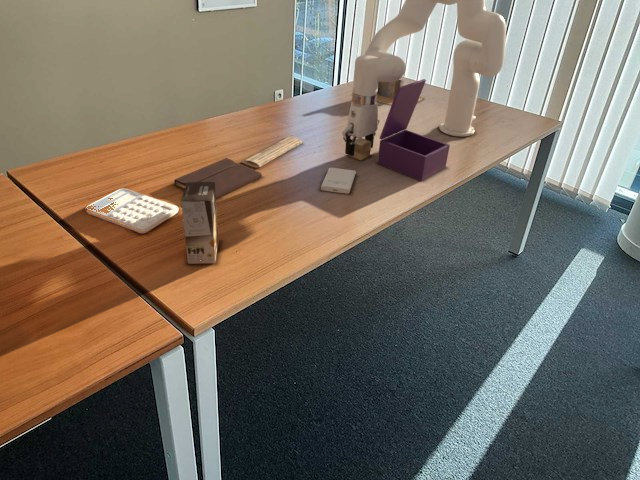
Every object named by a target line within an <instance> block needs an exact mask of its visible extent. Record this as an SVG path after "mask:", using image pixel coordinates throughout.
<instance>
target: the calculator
mask: <svg viewBox="0 0 640 480" xmlns="http://www.w3.org/2000/svg"><path fill="white" fill-rule="evenodd" d="M108 198H113V199H111V200H110V199H108ZM113 202H114V204H116V205H114V204H113V205H114V207H115V208H114V207H112V206H113V205H110V204H111V203H113ZM115 202H116V203H115ZM93 204H94V205H93ZM117 204H118V205H117ZM91 205H92V206H93V207H94V206H96V207H94V209H96V210H97V212H96V210H94V209H93V210H91V209H88V208H87V207H88V206H91ZM108 205H110V206H111V207H112V208H113V209H114V210H111V209H110V210H111V211H110V210H108V209H107V210H108V211H110V212H109V213H107V214H106V213H104V212H101V211H100V212H101V213H100V212H98V209H99V210H100V209H102V208H104V207H106V206H108ZM98 206H99V207H98ZM93 207H91V208H93ZM86 208H87V209H88V210H90V211H93V212H95V213H98V214H101V215H103V216H106V217H108V218H110V219H113V220H116V221H119V222H121V223H123V224H125V225H123V224H120V223H118V222H115V221H112V220H109V219H107V218H104V217H101V216H99V215H96V214H93V213H91V212H88V211H86V210H85V212H86V213H87V214H88V215H90V216H92V217H96V218H98V219H101V220H104V221H106V222H109V223H112V224H114V225H117V226H120V227H122V228H125V229H128V230H131V231H132V232H136V233H138V234H146V233H148V232H150V231H151V230H153V229H154V228H156V227H157V226H159V225H161V224H163V223H164V222H165V221H167V220H169V219H170V218H172V217H173V216H175V215H176V214H178V212H179V207H178V206H177V205H175V204H173V203H169V202H166V201H164V200H161V199H157V198H155V197H152V196H149V195H147V194H143V193H141V192H137V191H134V190H131V189H128V188H119V189H117V190H114V191H113V192H111V193H109V194H106V195H105V196H103V197H102V198H100V199H97V200H96V201H93V202H92V203H90V204H88V205H87V206H86V207H85V209H86ZM109 208H110V207H109ZM161 220H162V221H161ZM156 223H157V224H156ZM126 225H128V226H130V227H128V226H126ZM153 225H154V226H153ZM131 227H133V228H131ZM150 227H151V228H150ZM134 228H136V229H134ZM148 228H149V229H148ZM137 229H138V230H137ZM139 230H145V231H139Z"/></svg>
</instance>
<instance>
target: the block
mask: <svg viewBox="0 0 640 480" xmlns="http://www.w3.org/2000/svg"><path fill="white" fill-rule="evenodd" d="M354 144H355V150H354V156H350V155H348V157H351V158H354V159H356V160H359V161H362V160H364V159H367V158H368V157H369V158H370V156H371V151H372V150H371V149H372V148H371V141H368V140H366V139H365V138H364V137H362V138H356V140H355V142H354Z"/></svg>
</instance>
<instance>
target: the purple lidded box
mask: <svg viewBox="0 0 640 480" xmlns="http://www.w3.org/2000/svg"><path fill="white" fill-rule="evenodd" d="M379 140H380V141H379V148H378V157H377V165H380V166H382V167H384V168H388V169H390V170H393V171H395V172H398V173H401V174H402V175H406V176H407V177H410V178H413V179H416V180H418V181H420V182H423V181H424V180H426V179H428V178H430V177H431V176H434V175H435V174H437V173H439V172H441V171H442V170H445V169H446V167H447V162H448V157H449V151H450V147H451V145H450V144H448V143H445V142H443V141H439V140H437V139H434V138H431V137H428V136H425V135H422V134H419V133H416V132H414V131H411V130H408V129H405V130H403V131H400V132H398V133H396V134H393V135H391V136H389V137H386V138H384V139H382V140H381V139H379Z"/></svg>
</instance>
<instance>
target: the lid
mask: <svg viewBox="0 0 640 480" xmlns="http://www.w3.org/2000/svg"><path fill="white" fill-rule="evenodd" d="M426 82H427V79H425V78H422V79H419V80H417V81H414V82H411V83H408V84H404V85H403V86H402V87H399V88H398V89H397V92H396V95H395V97H394V100H393V103H392V105H390V108H389V112H388V113H387V117H386V119H385V122H384V124H383V127H382V129H381V130H382V131H381V133H380V135H379V140H383V139H385V138H387V137H390V136H392V135H394V134H397V133H399V132H401V131H404V130H408V126H409V124H410V121H411V119H412V116H413V114H414V111H415V109H416V106H417V104H418V102H419V101H418V99H419V98H421V94H422V92H423V89H424V87H425V85H426Z"/></svg>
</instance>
